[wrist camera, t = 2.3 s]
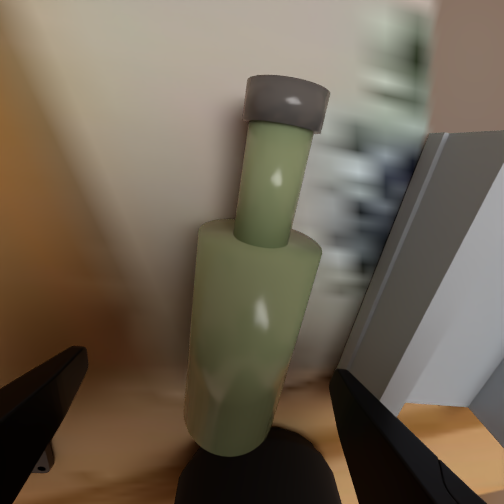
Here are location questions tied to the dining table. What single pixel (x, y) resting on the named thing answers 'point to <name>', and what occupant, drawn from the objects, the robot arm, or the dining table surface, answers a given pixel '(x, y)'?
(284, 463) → the coffee jar
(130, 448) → the dining table surface
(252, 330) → the oil bottle
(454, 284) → the u rest
